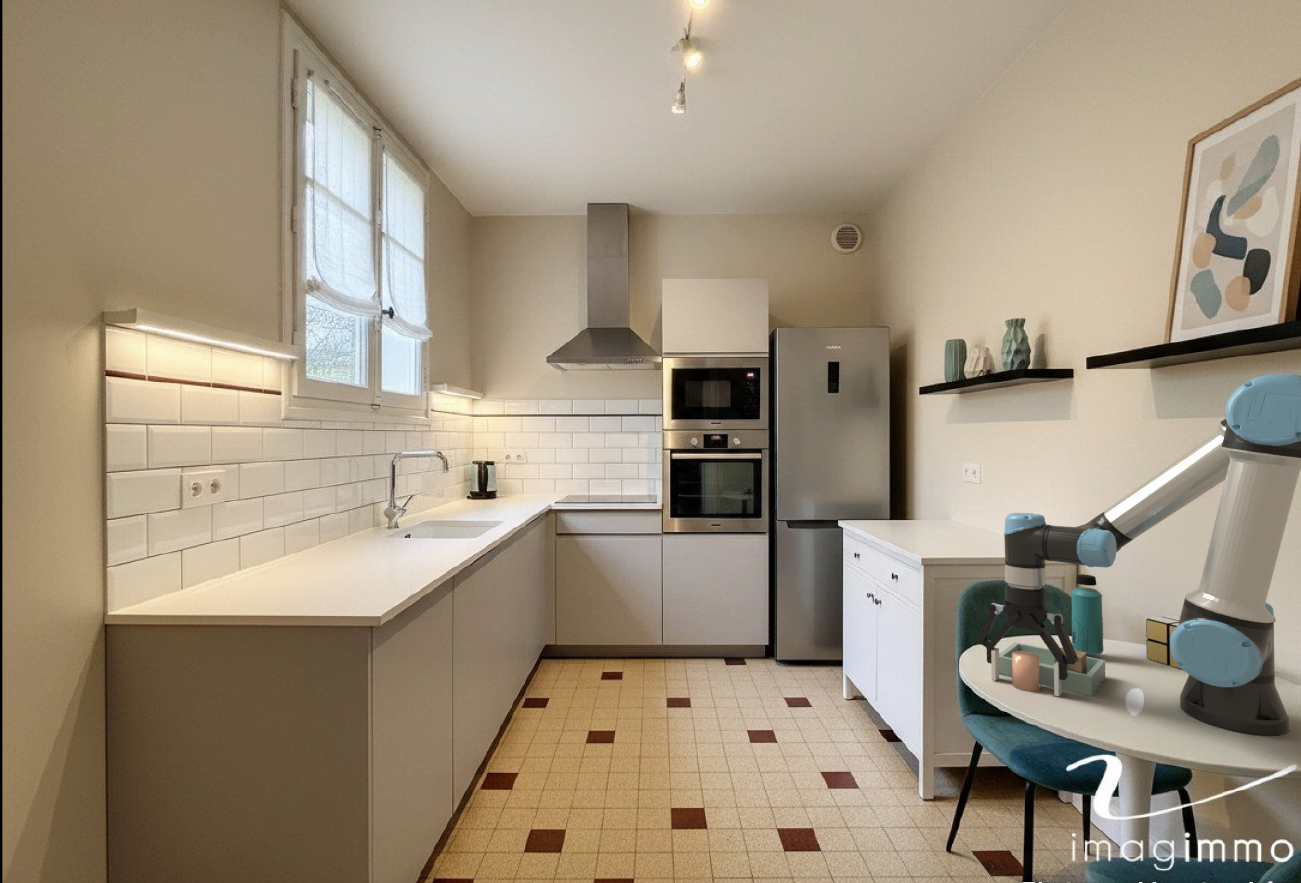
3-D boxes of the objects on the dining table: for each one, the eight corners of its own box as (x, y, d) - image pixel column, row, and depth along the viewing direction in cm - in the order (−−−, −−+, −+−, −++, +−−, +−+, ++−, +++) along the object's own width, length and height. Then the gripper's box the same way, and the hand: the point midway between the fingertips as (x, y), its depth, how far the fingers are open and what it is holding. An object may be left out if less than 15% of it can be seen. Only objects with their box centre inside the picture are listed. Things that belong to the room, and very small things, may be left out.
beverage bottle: (1110, 660, 149) (1109, 578, 149) (1082, 661, 149) (1081, 578, 149) (1091, 651, 155) (1090, 572, 155) (1065, 651, 156) (1064, 572, 156)
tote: (1105, 678, 138) (1105, 660, 138) (1091, 696, 128) (1091, 677, 128) (1015, 658, 151) (1015, 642, 151) (996, 673, 141) (996, 656, 141)
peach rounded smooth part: (1042, 687, 133) (1042, 654, 134) (1035, 693, 130) (1035, 660, 130) (1016, 680, 137) (1016, 649, 137) (1009, 687, 134) (1009, 654, 134)
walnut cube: (1086, 674, 139) (1086, 652, 139) (1081, 681, 135) (1081, 658, 135) (1060, 669, 142) (1060, 647, 142) (1054, 675, 139) (1054, 652, 139)
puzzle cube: (1173, 654, 153) (1173, 614, 153) (1221, 668, 144) (1221, 625, 144) (1145, 659, 150) (1145, 618, 150) (1193, 673, 141) (1192, 629, 141)
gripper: (1094, 591, 128) (1095, 697, 128) (972, 574, 145) (973, 667, 145) (1086, 597, 122) (1087, 708, 122) (960, 579, 140) (961, 676, 139)
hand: (1025, 686), depth 134 cm, fingers open, 11 cm apart
